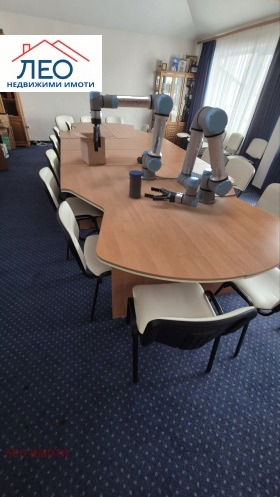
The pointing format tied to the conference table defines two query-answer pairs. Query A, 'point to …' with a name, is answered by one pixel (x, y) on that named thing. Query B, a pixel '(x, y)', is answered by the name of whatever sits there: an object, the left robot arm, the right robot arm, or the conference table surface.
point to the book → (197, 176)
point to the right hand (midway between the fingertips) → (147, 191)
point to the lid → (136, 173)
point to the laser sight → (139, 159)
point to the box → (92, 147)
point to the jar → (135, 187)
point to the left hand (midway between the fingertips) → (97, 149)
